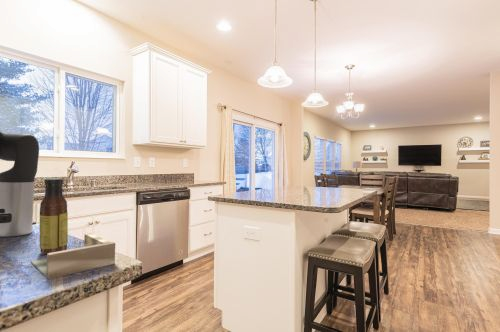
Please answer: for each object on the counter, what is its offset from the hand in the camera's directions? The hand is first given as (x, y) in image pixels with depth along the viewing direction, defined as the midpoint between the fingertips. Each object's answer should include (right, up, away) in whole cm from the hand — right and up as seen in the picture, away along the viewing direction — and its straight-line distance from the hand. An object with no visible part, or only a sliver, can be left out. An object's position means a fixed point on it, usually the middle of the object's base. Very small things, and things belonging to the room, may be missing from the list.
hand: (7, 214), depth 67 cm
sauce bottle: (+6, -11, +7) cm, 15 cm away
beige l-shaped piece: (+16, -12, -1) cm, 20 cm away
